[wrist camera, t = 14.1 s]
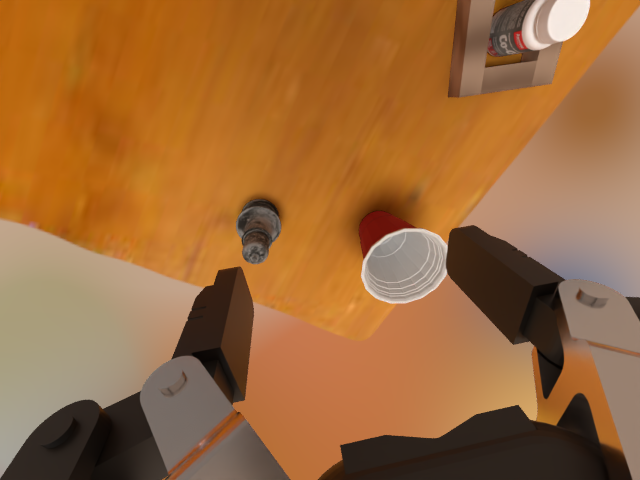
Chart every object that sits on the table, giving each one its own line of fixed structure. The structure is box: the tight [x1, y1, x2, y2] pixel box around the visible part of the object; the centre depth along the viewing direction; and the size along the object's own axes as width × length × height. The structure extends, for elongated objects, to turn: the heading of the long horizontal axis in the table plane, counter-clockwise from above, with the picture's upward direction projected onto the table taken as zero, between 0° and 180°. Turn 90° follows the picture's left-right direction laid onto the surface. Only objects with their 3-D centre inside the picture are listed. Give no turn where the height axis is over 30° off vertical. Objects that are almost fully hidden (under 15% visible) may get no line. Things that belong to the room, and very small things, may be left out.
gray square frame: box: [448, 0, 563, 97], centre depth 31 cm, size 12×12×2 cm
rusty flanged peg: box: [236, 199, 281, 264], centre depth 33 cm, size 6×6×12 cm
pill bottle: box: [487, 0, 590, 57], centre depth 28 cm, size 5×5×8 cm
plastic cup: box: [359, 211, 448, 303], centre depth 37 cm, size 11×11×12 cm
